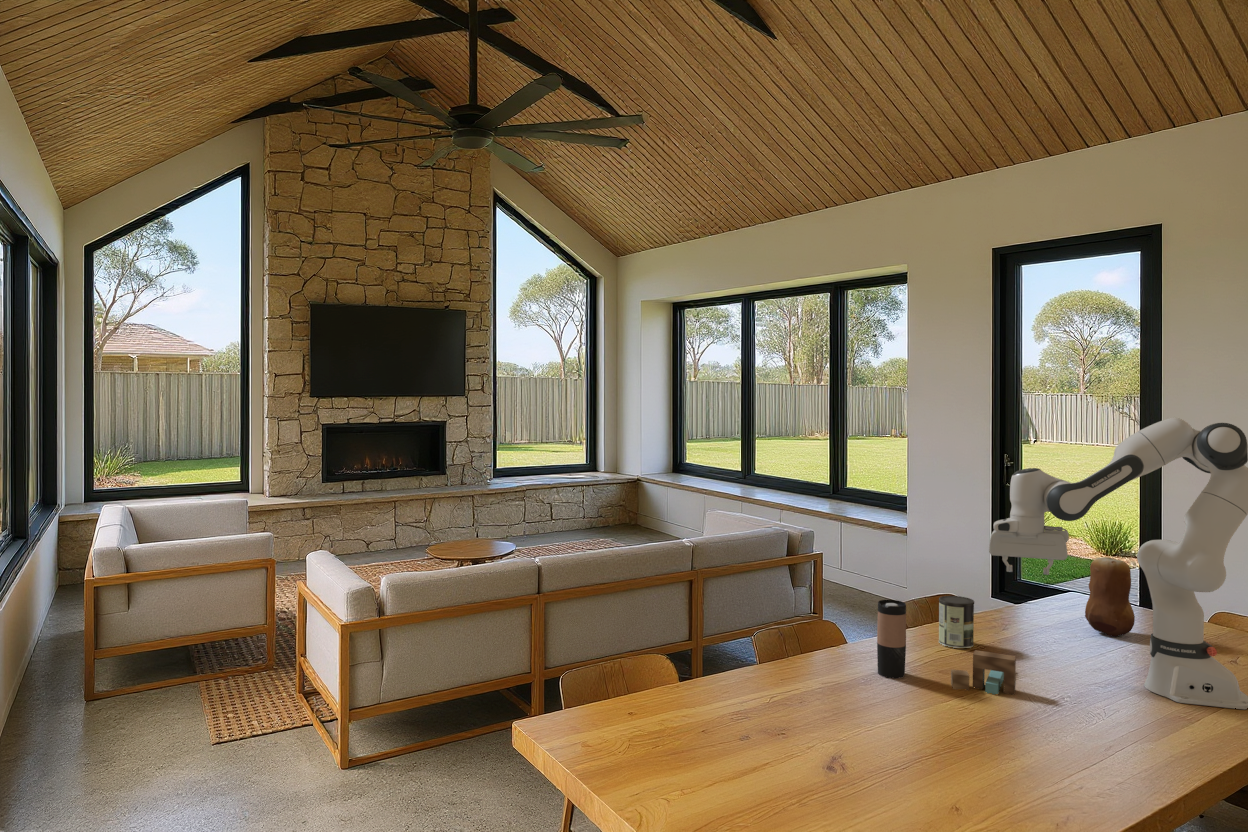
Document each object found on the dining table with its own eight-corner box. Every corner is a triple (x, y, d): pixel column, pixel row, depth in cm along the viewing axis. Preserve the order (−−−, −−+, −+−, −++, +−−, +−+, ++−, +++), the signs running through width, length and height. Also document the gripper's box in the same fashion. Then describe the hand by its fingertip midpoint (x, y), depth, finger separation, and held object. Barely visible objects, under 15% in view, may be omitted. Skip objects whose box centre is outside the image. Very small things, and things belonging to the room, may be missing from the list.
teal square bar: (1006, 671, 229) (1006, 660, 229) (997, 696, 210) (998, 684, 210) (995, 669, 231) (995, 659, 230) (985, 694, 212) (985, 682, 212)
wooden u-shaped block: (1015, 689, 214) (1015, 656, 213) (1014, 694, 210) (1014, 660, 210) (974, 683, 219) (974, 650, 218) (972, 687, 215) (973, 654, 215)
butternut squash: (1134, 632, 265) (1135, 557, 264) (1134, 643, 254) (1135, 564, 253) (1085, 626, 273) (1086, 552, 272) (1083, 636, 261) (1085, 559, 260)
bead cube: (966, 685, 217) (967, 670, 217) (969, 690, 213) (969, 675, 213) (950, 684, 218) (951, 669, 218) (953, 689, 214) (953, 674, 214)
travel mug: (901, 669, 229) (902, 599, 228) (908, 679, 221) (909, 607, 221) (874, 668, 230) (874, 599, 229) (880, 678, 222) (880, 606, 221)
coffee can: (965, 639, 258) (966, 595, 257) (979, 649, 247) (980, 603, 247) (933, 639, 258) (933, 595, 257) (945, 649, 248) (946, 603, 247)
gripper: (1068, 525, 229) (1069, 573, 230) (989, 521, 239) (990, 567, 240) (1068, 528, 224) (1069, 578, 224) (987, 524, 234) (988, 572, 234)
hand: (1027, 572), depth 232 cm, fingers open, 8 cm apart
